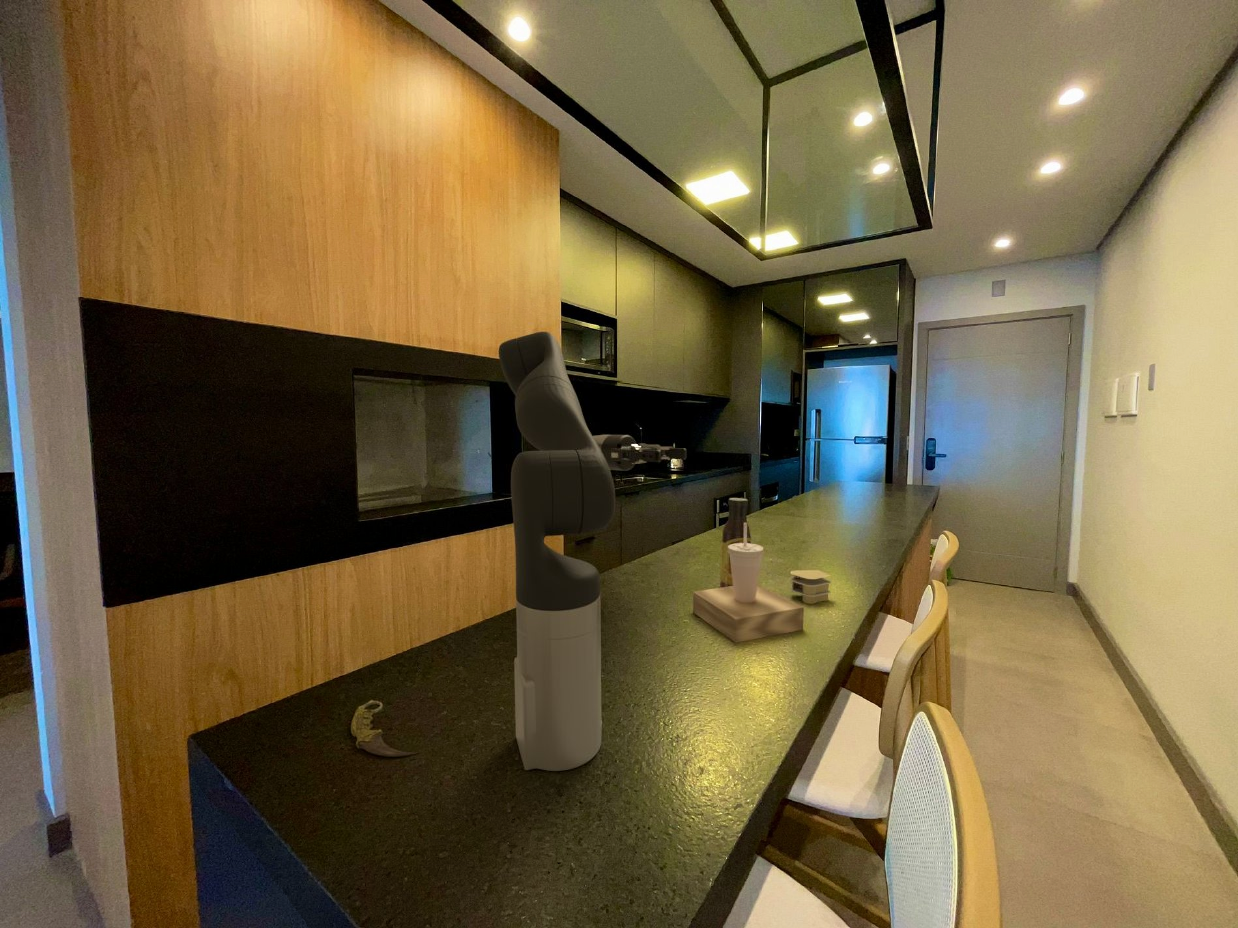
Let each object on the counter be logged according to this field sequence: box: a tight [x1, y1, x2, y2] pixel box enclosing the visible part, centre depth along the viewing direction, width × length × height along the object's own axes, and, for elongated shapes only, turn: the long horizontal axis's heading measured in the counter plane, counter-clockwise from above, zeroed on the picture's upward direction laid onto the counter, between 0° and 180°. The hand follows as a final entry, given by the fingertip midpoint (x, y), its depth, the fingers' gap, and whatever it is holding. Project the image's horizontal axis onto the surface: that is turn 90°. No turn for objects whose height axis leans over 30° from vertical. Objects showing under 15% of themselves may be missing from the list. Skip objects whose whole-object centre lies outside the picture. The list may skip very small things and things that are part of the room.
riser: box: [692, 584, 805, 644], centre depth 88 cm, size 14×14×4 cm
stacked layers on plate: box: [789, 569, 832, 605], centre depth 99 cm, size 10×9×6 cm
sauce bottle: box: [719, 497, 752, 588], centre depth 104 cm, size 6×6×20 cm
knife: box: [350, 699, 422, 758], centre depth 57 cm, size 14×1×5 cm
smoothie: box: [728, 522, 765, 603], centre depth 87 cm, size 6×6×14 cm
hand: (673, 455), depth 93 cm, fingers open, 8 cm apart
